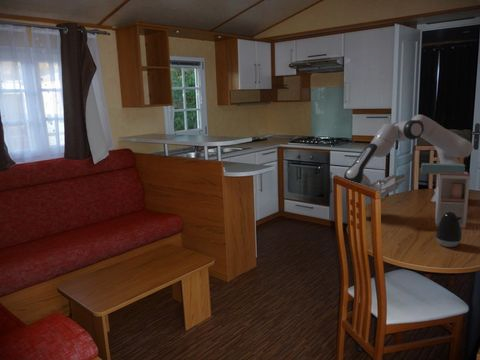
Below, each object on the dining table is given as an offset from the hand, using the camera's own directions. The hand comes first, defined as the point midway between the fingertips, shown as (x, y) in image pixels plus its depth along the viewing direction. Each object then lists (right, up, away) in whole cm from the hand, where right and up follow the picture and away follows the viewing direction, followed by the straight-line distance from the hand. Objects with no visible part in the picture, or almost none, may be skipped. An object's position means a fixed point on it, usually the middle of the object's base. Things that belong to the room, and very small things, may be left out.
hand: (405, 177), depth 211 cm
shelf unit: (+22, -24, -2) cm, 32 cm away
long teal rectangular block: (+16, +2, -6) cm, 17 cm away
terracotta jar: (+23, -11, -6) cm, 26 cm away
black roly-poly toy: (+7, -31, -29) cm, 43 cm away
